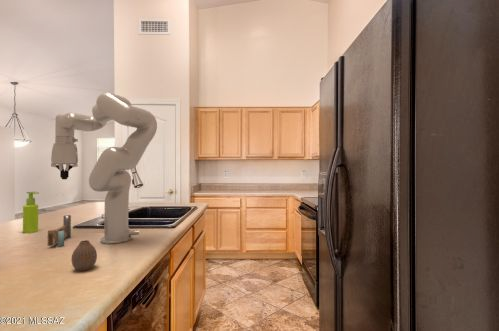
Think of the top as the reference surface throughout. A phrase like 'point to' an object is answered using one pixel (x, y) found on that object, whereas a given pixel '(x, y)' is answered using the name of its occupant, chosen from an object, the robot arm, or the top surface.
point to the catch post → (60, 238)
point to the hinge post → (67, 222)
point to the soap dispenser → (30, 215)
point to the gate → (56, 235)
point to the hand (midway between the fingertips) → (64, 179)
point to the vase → (84, 256)
